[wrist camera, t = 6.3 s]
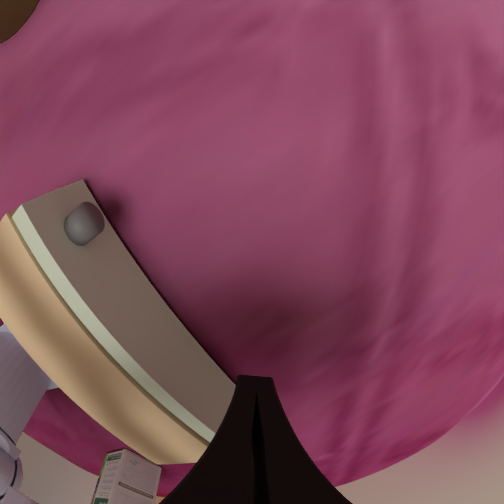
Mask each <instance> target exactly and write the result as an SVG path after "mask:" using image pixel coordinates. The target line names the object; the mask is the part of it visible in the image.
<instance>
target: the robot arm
mask: <svg viewBox="0 0 504 504" xmlns="http://www.w3.org/2000/svg"><path fill="white" fill-rule="evenodd" d="M54 388H59V387H58V386H57V385H56V384H55V383H54V382H53V381H52V380H51V379H50V378H49V376H48V375H47V374H46V373H45V372H44V371H43V370H42V369H41V368H40V367H39V366H38V365H37V363H36V362H35V361H34V360H33V359H32V358H31V357H30V355H29V354H28V353H27V352H26V351H25V349H24V348H23V347H22V346H21V344H20V343H19V342H18V341H17V339H16V338H15V337H14V336H13V334H12V333H11V332H10V330H9V329H8V328H7V326H6V325H5V324H3V325H2V326H1V327H0V504H39V503H37V502H35V501H34V500H32V499H30V498H29V497H27V496H26V495H24V494H22V493H21V492H19V490H20V488H21V484H22V480H23V471H22V464H21V461H20V459H19V457H18V456H19V454H20V450H19V449H18V448H17V447H16V446H15V445H16V443H17V441H18V439H19V437H20V436H21V434H22V432H23V430H24V428H25V426H26V425H27V423H28V421H29V419H30V417H31V416H32V414H33V412H34V411H35V409H36V407H37V405H38V404H39V402H40V400H41V399H42V397H43V395H44V394H45V392H46V390H50V389H54ZM159 504H352V503H351V502H350V501H349V500H347V499H346V498H345V497H344V496H343V495H342V494H341V493H340V492H339V491H338V490H337V489H336V488H335V487H334V486H333V485H332V484H331V483H330V482H329V481H328V479H327V478H326V477H325V476H324V475H323V474H322V473H321V471H320V470H319V469H318V468H317V466H316V465H315V464H314V462H313V461H312V460H311V458H310V457H309V455H308V454H307V452H306V451H305V449H304V448H303V446H302V445H301V443H300V441H299V440H298V438H297V436H296V434H295V433H294V431H293V429H292V427H291V425H290V423H289V421H288V419H287V417H286V414H285V412H284V410H283V408H282V405H281V403H280V400H279V397H278V395H277V392H276V389H275V385H274V382H273V379H272V378H271V377H260V376H249V375H239V376H237V381H236V387H235V391H234V394H233V397H232V400H231V403H230V405H229V407H228V410H227V412H226V414H225V417H224V419H223V421H222V423H221V424H220V426H219V428H218V430H217V432H216V434H215V436H214V437H213V439H212V441H211V442H210V444H209V445H208V447H207V449H206V450H205V452H204V453H203V454H202V456H201V457H200V459H199V460H198V461H197V463H196V464H195V465H194V467H193V468H192V469H191V470H190V472H189V473H188V474H187V475H186V476H185V477H184V479H183V480H182V481H181V482H180V483H179V484H178V485H177V486H176V488H175V489H174V490H173V491H172V492H171V493H170V494H169V495H167V496H166V497H165V498H164V499H163V500H162V501H161V502H160V503H159Z"/></svg>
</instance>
